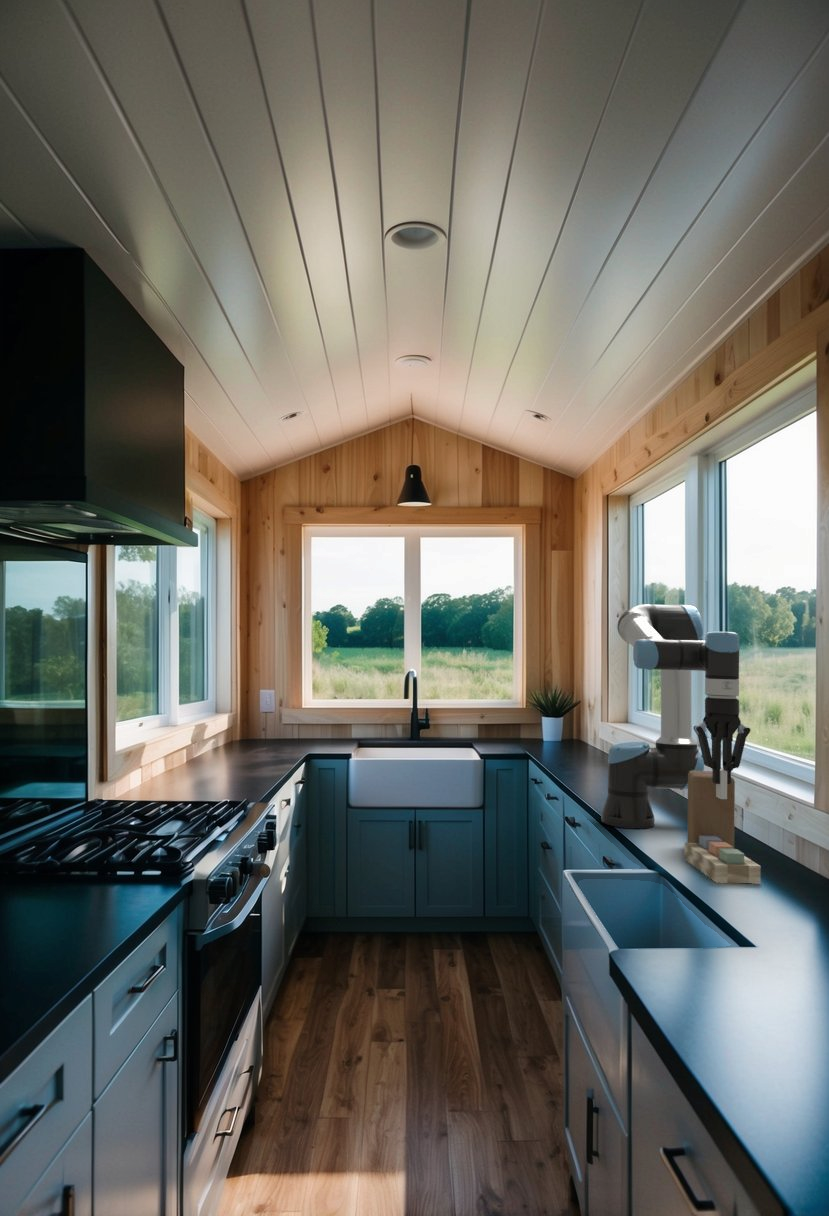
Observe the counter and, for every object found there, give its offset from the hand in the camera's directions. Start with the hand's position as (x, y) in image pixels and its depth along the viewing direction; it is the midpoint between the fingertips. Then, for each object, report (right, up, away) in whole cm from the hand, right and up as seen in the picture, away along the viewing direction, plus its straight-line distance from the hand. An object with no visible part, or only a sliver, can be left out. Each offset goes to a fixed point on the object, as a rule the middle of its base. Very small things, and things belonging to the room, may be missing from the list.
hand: (721, 797), depth 183 cm
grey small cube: (0, -15, +6) cm, 16 cm away
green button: (0, -15, -6) cm, 16 cm away
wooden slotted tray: (0, -17, 0) cm, 17 cm away
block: (+3, -18, +16) cm, 24 cm away
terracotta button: (0, -15, 0) cm, 15 cm away
